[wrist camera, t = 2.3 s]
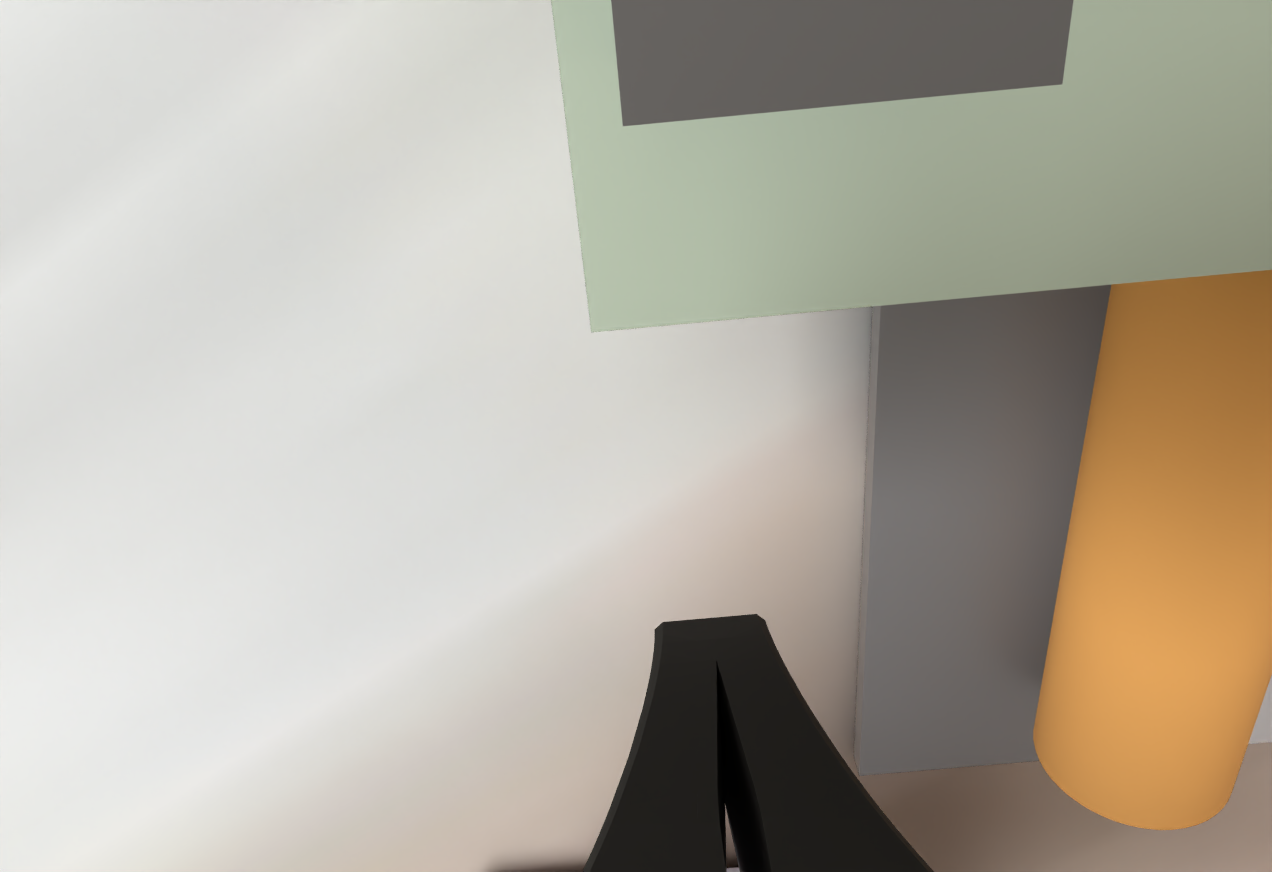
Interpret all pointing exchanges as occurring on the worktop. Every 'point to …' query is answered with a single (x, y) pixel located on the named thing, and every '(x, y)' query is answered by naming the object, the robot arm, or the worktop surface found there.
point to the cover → (909, 149)
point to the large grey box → (970, 521)
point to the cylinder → (1166, 557)
